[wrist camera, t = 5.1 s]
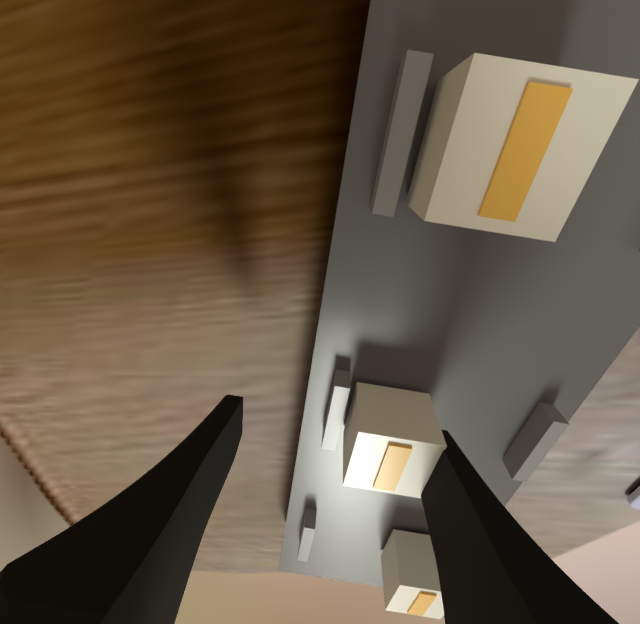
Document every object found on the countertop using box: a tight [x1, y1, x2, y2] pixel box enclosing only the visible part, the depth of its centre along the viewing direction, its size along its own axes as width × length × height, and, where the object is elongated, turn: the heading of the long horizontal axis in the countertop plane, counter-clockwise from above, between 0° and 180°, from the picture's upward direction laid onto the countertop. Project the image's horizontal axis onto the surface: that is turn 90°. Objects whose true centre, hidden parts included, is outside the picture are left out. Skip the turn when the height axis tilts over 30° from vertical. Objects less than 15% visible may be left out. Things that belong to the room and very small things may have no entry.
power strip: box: [278, 0, 640, 587], centre depth 14 cm, size 11×32×4 cm, turn 172°
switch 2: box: [406, 53, 639, 242], centre depth 7 cm, size 3×3×3 cm
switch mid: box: [343, 382, 447, 498], centre depth 12 cm, size 3×3×3 cm
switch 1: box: [381, 529, 444, 619], centre depth 17 cm, size 3×3×3 cm
